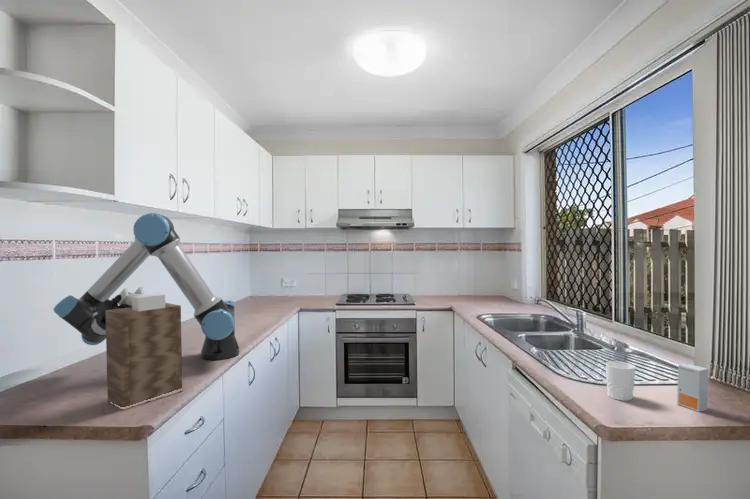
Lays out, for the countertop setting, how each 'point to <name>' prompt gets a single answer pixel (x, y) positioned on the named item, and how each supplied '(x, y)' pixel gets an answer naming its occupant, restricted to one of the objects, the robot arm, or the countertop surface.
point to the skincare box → (692, 387)
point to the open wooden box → (143, 353)
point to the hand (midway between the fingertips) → (134, 291)
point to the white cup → (620, 380)
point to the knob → (145, 301)
